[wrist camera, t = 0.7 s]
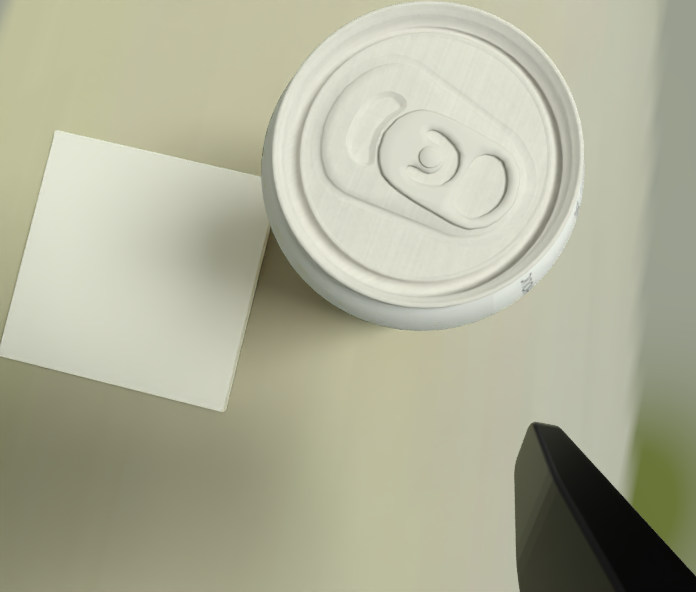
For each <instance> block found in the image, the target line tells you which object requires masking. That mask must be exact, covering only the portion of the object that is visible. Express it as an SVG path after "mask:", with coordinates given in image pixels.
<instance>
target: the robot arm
mask: <svg viewBox="0 0 696 592" xmlns="http://www.w3.org/2000/svg"><path fill="white" fill-rule="evenodd" d="M514 482H515V528H516V563H517V573H518V582H519V589H520V592H696V576H695V575H694V574H693V573H692V571H691V570H690V569H689V568H688V567H687V566H686V565H685V564H684V563H683V562H682V561H681V559H680V558H679V557H678V556H677V555H676V554H675V553H674V552H673V551H672V550H671V548H670V547H669V546H668V545H667V544H666V543H665V542H664V541H663V540H662V539H661V538H660V537H659V536H658V534H657V533H656V532H655V531H654V530H653V529H652V528H651V527H650V526H649V525H648V523H647V522H646V521H645V520H644V519H643V518H642V517H641V516H640V515H639V513H638V512H637V511H636V510H635V509H634V508H633V507H632V506H631V505H630V504H629V502H628V501H627V500H626V499H625V498H624V497H623V496H622V495H621V494H620V493H619V492H618V490H617V489H616V488H615V487H614V486H613V485H612V484H611V483H610V482H609V481H608V480H607V478H606V477H605V476H604V475H603V474H602V473H601V472H600V471H599V470H598V469H597V467H596V466H595V465H594V464H593V463H592V462H591V461H590V460H589V459H588V458H587V457H586V455H585V454H584V453H583V452H582V451H581V450H580V449H579V448H578V447H577V446H576V444H575V443H574V442H573V441H572V440H571V439H570V438H569V437H568V436H567V435H566V434H565V432H564V431H563V430H562V429H561V428H559V427H558V426H555V425H550V424H545V423H539V422H534V423H532V424H531V425H530V426H529V427H528V430H527V432H526V435H525V438H524V440H523V443H522V446H521V449H520V451H519V454H518V457H517V460H516V464H515V472H514Z"/></svg>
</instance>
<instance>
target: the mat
mask: <svg viewBox="0 0 696 592" xmlns="http://www.w3.org/2000/svg"><path fill="white" fill-rule="evenodd" d="M270 228H271V226H270V223H269V220H268V217H267V213H266V209H265V204H264V200H263V193H262V183H261V176H256V175H252V174H248V173H243V172H239V171H234V170H230V169H226V168H221V167H217V166H212V165H208V164H204V163H199V162H195V161H190V160H186V159H182V158H177V157H173V156H168V155H164V154H160V153H155V152H151V151H146V150H142V149H138V148H133V147H129V146H124V145H120V144H116V143H111V142H107V141H102V140H98V139H94V138H89V137H85V136H80V135H76V134H72V133H67V132H63V131H58V130H55V134H54V138H53V142H52V146H51V150H50V154H49V157H48V161H47V165H46V169H45V173H44V177H43V181H42V185H41V189H40V193H39V196H38V200H37V204H36V208H35V212H34V216H33V220H32V224H31V228H30V232H29V235H28V239H27V243H26V247H25V251H24V255H23V259H22V263H21V267H20V271H19V274H18V278H17V282H16V286H15V290H14V294H13V298H12V302H11V306H10V310H9V313H8V317H7V321H6V325H5V329H4V333H3V337H2V341H1V345H0V356H1V357H5V358H9V359H13V360H17V361H21V362H25V363H29V364H33V365H37V366H41V367H45V368H49V369H53V370H57V371H61V372H65V373H69V374H73V375H77V376H81V377H85V378H88V379H92V380H96V381H100V382H104V383H108V384H112V385H116V386H120V387H124V388H128V389H132V390H136V391H140V392H144V393H148V394H152V395H156V396H160V397H164V398H168V399H172V400H176V401H180V402H184V403H188V404H192V405H196V406H200V407H204V408H208V409H212V410H216V411H220V412H224V411H225V410H226V409H227V404H228V400H229V396H230V392H231V388H232V384H233V380H234V376H235V372H236V368H237V363H238V359H239V355H240V351H241V347H242V343H243V339H244V335H245V331H246V327H247V322H248V318H249V314H250V310H251V306H252V302H253V298H254V294H255V290H256V286H257V281H258V277H259V273H260V269H261V265H262V261H263V257H264V253H265V249H266V245H267V240H268V236H269V232H270Z"/></svg>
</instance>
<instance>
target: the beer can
mask: <svg viewBox="0 0 696 592" xmlns="http://www.w3.org/2000/svg"><path fill="white" fill-rule="evenodd" d="M261 183H262V193H263V200H264V204H265V209H266V213H267V217H268V220H269V223H270V226H271V229H272V231H273V234H274V236H275V238H276V240H277V242H278V244H279V246H280V248H281V250H282V252H283V253H284V255H285V256H286V258H287V259H288V261H289V263H290V264H291V266H292V267H293V268H294V269H295V270H296V272H297V273H298V274H299V275H300V277H301V278H302V279H303V280H304V281H305V282H306V283H307V284H308V285H309V286H310V287H311V288H312V289H313V290H314V291H315V292H317V293H318V294H319V295H321V296H322V297H323V298H324V299H326V300H327V301H328V302H330V303H331V304H333V305H334V306H336V307H338V308H340V309H341V310H343V311H345V312H346V313H348V314H351V315H353V316H355V317H357V318H360V319H362V320H364V321H367V322H371V323H374V324H377V325H380V326H384V327H390V328H395V329H400V330H414V331H429V330H442V329H448V328H454V327H459V326H463V325H466V324H470V323H473V322H476V321H479V320H481V319H484V318H486V317H488V316H491V315H493V314H495V313H497V312H499V311H500V310H502V309H504V308H506V307H508V306H509V305H511V304H512V303H514V302H515V301H516V300H518V299H519V298H521V297H522V296H523V295H525V294H526V293H527V292H528V291H529V290H530V289H531V288H532V287H534V286H535V285H536V284H537V283H538V282H539V281H540V280H541V279H542V278H543V276H544V275H545V274H546V273H547V272H548V271H549V269H550V268H551V267H552V266H553V264H554V263H555V261H556V260H557V258H558V257H559V255H560V254H561V252H562V251H563V249H564V247H565V245H566V243H567V241H568V239H569V237H570V235H571V233H572V230H573V227H574V225H575V222H576V219H577V217H578V213H579V209H580V204H581V200H582V194H583V185H584V147H583V135H582V127H581V122H580V118H579V114H578V110H577V107H576V104H575V102H574V99H573V96H572V94H571V91H570V89H569V87H568V85H567V83H566V82H565V80H564V78H563V76H562V74H561V73H560V71H559V70H558V68H557V67H556V65H555V64H554V63H553V61H552V60H551V59H550V57H549V56H548V55H547V54H546V53H545V52H544V51H543V50H542V48H541V47H540V46H539V45H538V44H536V43H535V42H534V41H533V40H532V39H531V38H530V37H529V36H528V35H526V34H525V33H524V32H522V31H521V30H519V29H518V28H516V27H515V26H514V25H512V24H510V23H509V22H507V21H505V20H503V19H501V18H499V17H498V16H496V15H493V14H491V13H488V12H486V11H483V10H481V9H478V8H474V7H470V6H467V5H463V4H458V3H451V2H445V1H416V2H406V3H401V4H395V5H390V6H387V7H384V8H381V9H377V10H374V11H372V12H369V13H367V14H365V15H363V16H360V17H358V18H356V19H354V20H353V21H351V22H349V23H347V24H346V25H344V26H342V27H341V28H339V29H338V30H337V31H335V32H334V33H333V34H331V35H330V36H329V37H327V38H326V39H325V40H324V41H323V42H322V43H321V44H320V45H319V46H318V47H317V48H316V49H314V51H313V52H312V53H311V54H310V55H309V56H308V58H307V59H306V60H305V61H304V62H303V64H302V65H301V67H300V68H299V70H298V71H297V73H296V74H295V75H294V77H293V78H292V80H291V81H290V83H289V84H288V86H287V87H286V89H285V90H284V92H283V93H282V95H281V97H280V99H279V101H278V103H277V105H276V107H275V109H274V112H273V114H272V117H271V120H270V122H269V125H268V129H267V132H266V136H265V140H264V146H263V153H262V161H261Z"/></svg>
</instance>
